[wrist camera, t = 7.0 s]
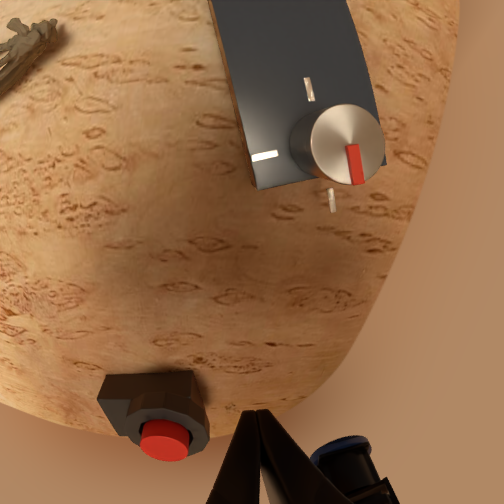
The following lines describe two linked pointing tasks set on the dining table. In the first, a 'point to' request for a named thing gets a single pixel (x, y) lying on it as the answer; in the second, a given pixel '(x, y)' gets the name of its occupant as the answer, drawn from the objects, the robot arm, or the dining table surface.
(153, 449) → the power button
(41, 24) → the skeletal hand
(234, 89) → the panel
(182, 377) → the power button base
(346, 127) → the dial
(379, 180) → the dining table surface
